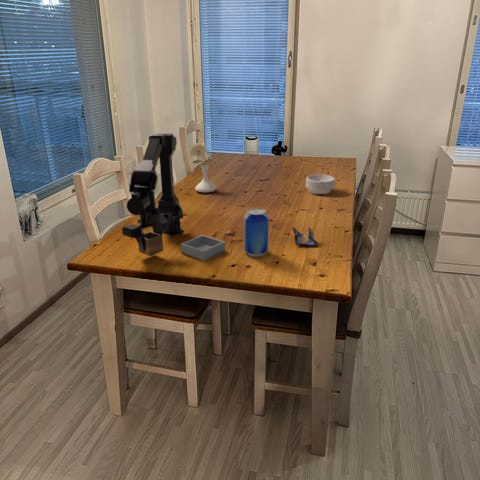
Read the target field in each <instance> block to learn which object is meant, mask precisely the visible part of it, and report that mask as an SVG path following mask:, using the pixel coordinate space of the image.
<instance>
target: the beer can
mask: <svg viewBox="0 0 480 480" xmlns="http://www.w3.org/2000/svg"><path fill="white" fill-rule="evenodd" d="M246 212H247V213H246V214H245V215H244V252H246V254H247V255H248V256H250V257H253V258H255V257H256V258H260V257H264V256H265V255H266V254H267V252H268V251H269V216H268V214H267V213H266V212H267V211H266V209H264V208H260V207H259V208H255V207H254V208H250V209H247V210H246Z"/></svg>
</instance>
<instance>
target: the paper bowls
mask: <svg viewBox="0 0 480 480" xmlns="http://www.w3.org/2000/svg"><path fill="white" fill-rule="evenodd" d="M335 186H336V178H335V177H334V176H331V175H328V174H310V175H307V176H306V178H305V188H306V189H308V190H309V192H310V193H311V194H314V195H318V194H324V195H327V194H330V193H331V190H334V189H335V188H336V187H335Z"/></svg>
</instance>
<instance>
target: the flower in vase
mask: <svg viewBox="0 0 480 480" xmlns="http://www.w3.org/2000/svg"><path fill="white" fill-rule="evenodd" d="M206 152H207V151H206V146H204V145H202V144H195V145H193V146H192V147H191V150H190V153H191V155H192V156H193V157H196V158H197V157H198V158H199V159H194V160H193V161H192V164H196V165H197V164H200V163H201V165H199V166H200V169H201V171H202V177H203V178H202V180H201V182H199V183H198V184H197V185H196V186H195V188H194V189H195V191H196V192H199V193H212V192H215V191H216V190H217V186H216V185H215V184H214V183H213V182H212V181H210V180H209V178H208V170H209V168H210V165H208V163H209V161H210V158H208V159H206V160H204V161H203V162H202V161H201V158H200V157H203V156H204V155H205V154H206Z"/></svg>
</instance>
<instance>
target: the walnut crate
mask: <svg viewBox="0 0 480 480" xmlns="http://www.w3.org/2000/svg"><path fill="white" fill-rule="evenodd" d="M144 234H146V236H145V251H143V250H142V249H141V247H140V245H139V244H138V243H137V245H138V246H137V247H138V252H139V253H141V254H142V255H145V256H149V257H153V256H154V255H157V254H158V253H159V254H160V253H161V252H163V251H164V242H163V234H162V235H161V234H158V233H155V232H153V230H152V231H151V230H150V231H147V232H144Z"/></svg>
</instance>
